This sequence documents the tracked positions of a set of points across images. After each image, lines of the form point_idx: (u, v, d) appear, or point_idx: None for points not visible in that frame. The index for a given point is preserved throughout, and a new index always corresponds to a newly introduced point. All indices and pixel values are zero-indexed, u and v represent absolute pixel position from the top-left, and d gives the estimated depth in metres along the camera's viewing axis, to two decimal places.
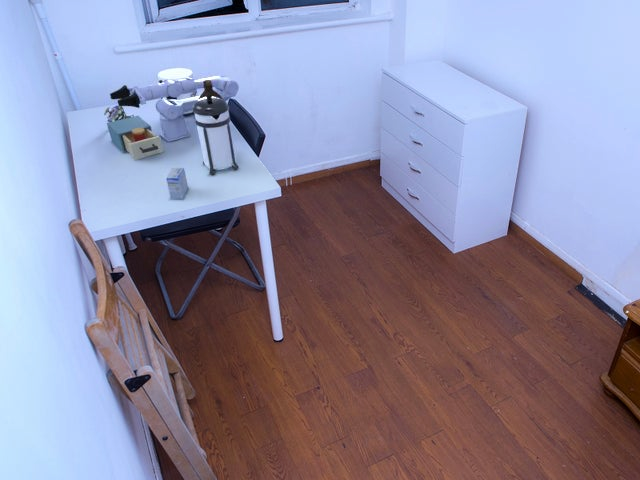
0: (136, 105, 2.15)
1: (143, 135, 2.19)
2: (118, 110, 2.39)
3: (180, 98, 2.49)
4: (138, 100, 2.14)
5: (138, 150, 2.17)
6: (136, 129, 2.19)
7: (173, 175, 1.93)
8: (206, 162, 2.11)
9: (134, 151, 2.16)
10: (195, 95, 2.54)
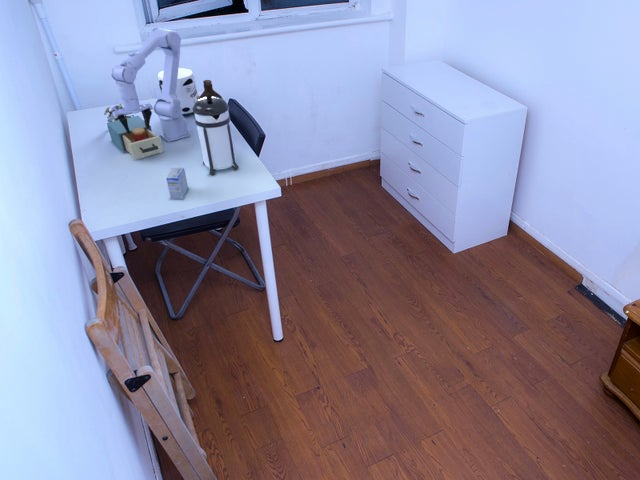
0: None
1: (143, 135, 2.19)
2: None
3: (180, 98, 2.49)
4: None
5: (138, 150, 2.17)
6: (136, 129, 2.19)
7: (173, 175, 1.93)
8: (206, 162, 2.11)
9: (134, 151, 2.16)
10: (195, 95, 2.54)
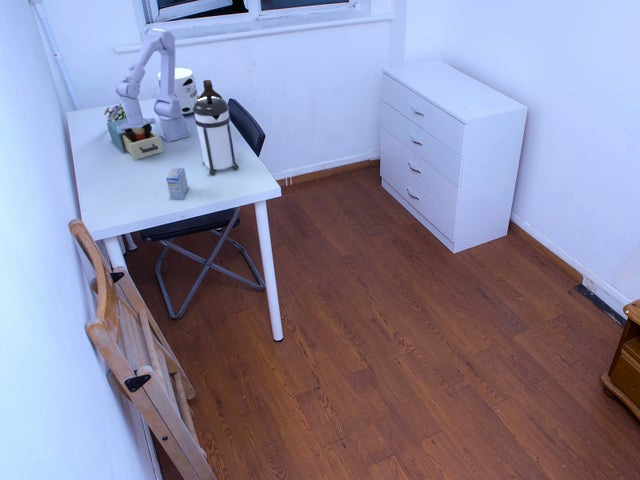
0: None
1: (143, 135, 2.19)
2: (118, 110, 2.39)
3: (180, 98, 2.49)
4: None
5: (138, 150, 2.17)
6: (136, 129, 2.19)
7: (173, 175, 1.93)
8: (206, 162, 2.11)
9: (134, 151, 2.16)
10: (195, 95, 2.54)
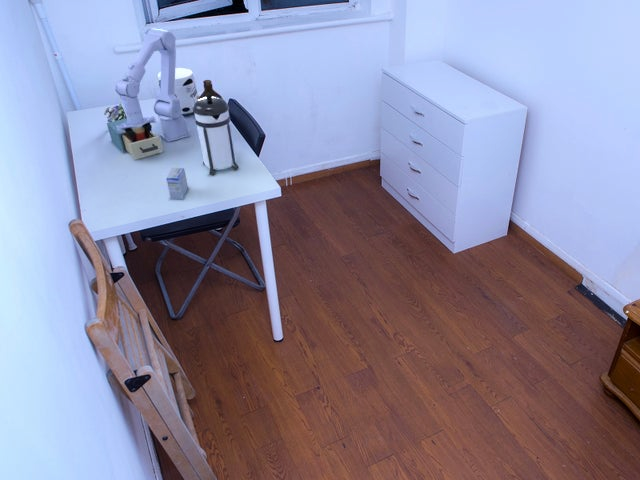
0: None
1: (143, 134, 2.19)
2: (118, 110, 2.39)
3: (180, 98, 2.49)
4: None
5: (138, 150, 2.17)
6: (136, 128, 2.19)
7: (173, 175, 1.93)
8: (206, 162, 2.11)
9: (134, 151, 2.16)
10: (195, 95, 2.54)
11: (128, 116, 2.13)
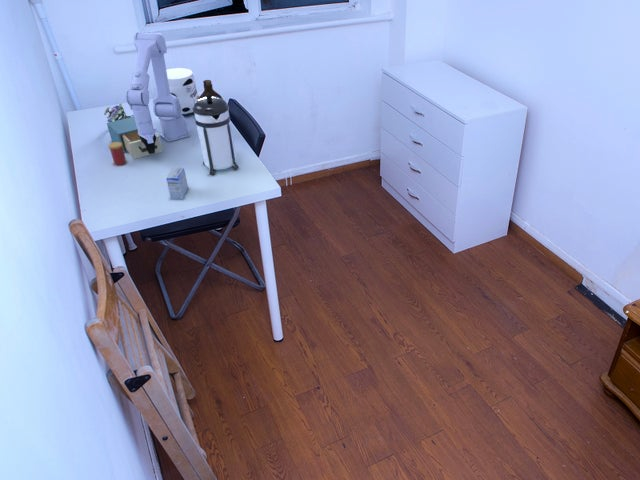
0: None
1: None
2: (118, 110, 2.39)
3: (180, 98, 2.49)
4: None
5: (137, 149, 2.17)
6: (112, 144, 2.12)
7: (173, 175, 1.93)
8: (206, 162, 2.11)
9: (133, 150, 2.16)
10: (195, 95, 2.54)
11: (148, 125, 2.08)
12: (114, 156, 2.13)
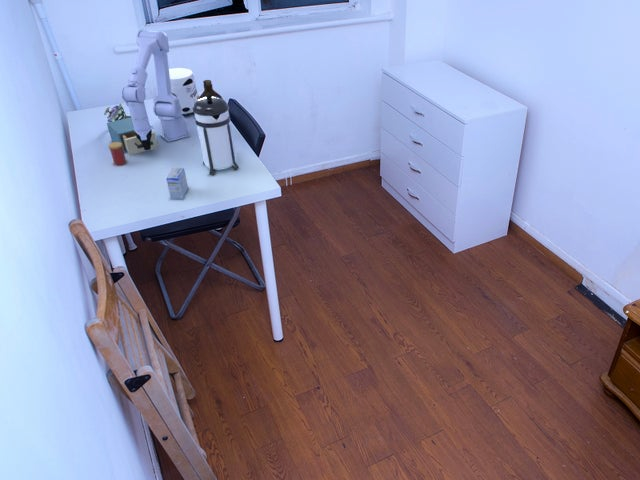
0: None
1: None
2: (118, 110, 2.39)
3: (180, 98, 2.49)
4: None
5: (133, 146, 2.20)
6: (112, 144, 2.12)
7: (173, 175, 1.93)
8: (206, 162, 2.11)
9: (129, 147, 2.19)
10: (195, 95, 2.54)
11: (143, 122, 2.10)
12: (114, 156, 2.13)
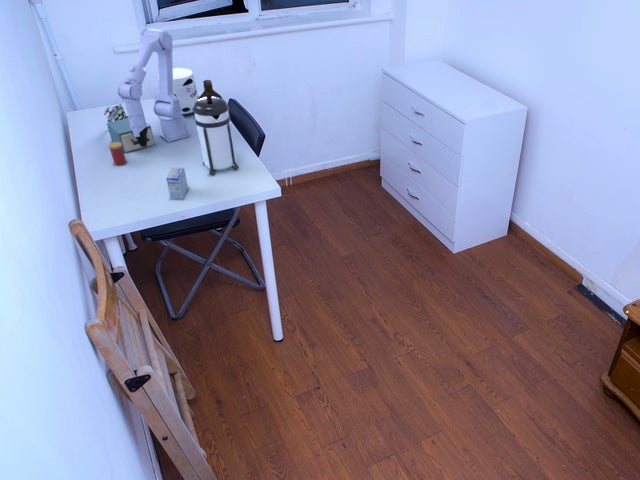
0: None
1: None
2: (118, 110, 2.39)
3: (180, 98, 2.49)
4: None
5: (129, 142, 2.22)
6: (112, 144, 2.12)
7: (173, 175, 1.93)
8: (206, 162, 2.11)
9: (125, 143, 2.21)
10: (195, 95, 2.54)
11: (138, 119, 2.12)
12: (114, 156, 2.13)
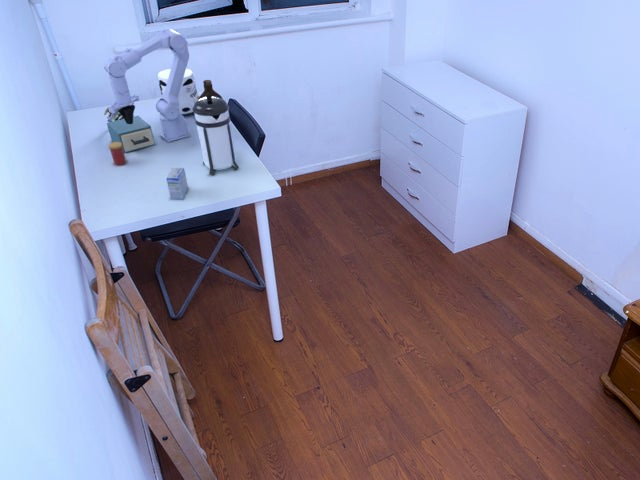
0: None
1: None
2: None
3: (180, 98, 2.49)
4: None
5: (129, 142, 2.22)
6: (112, 144, 2.12)
7: (173, 175, 1.93)
8: (206, 162, 2.11)
9: (125, 143, 2.21)
10: (195, 95, 2.54)
11: (119, 96, 2.13)
12: (114, 156, 2.13)
